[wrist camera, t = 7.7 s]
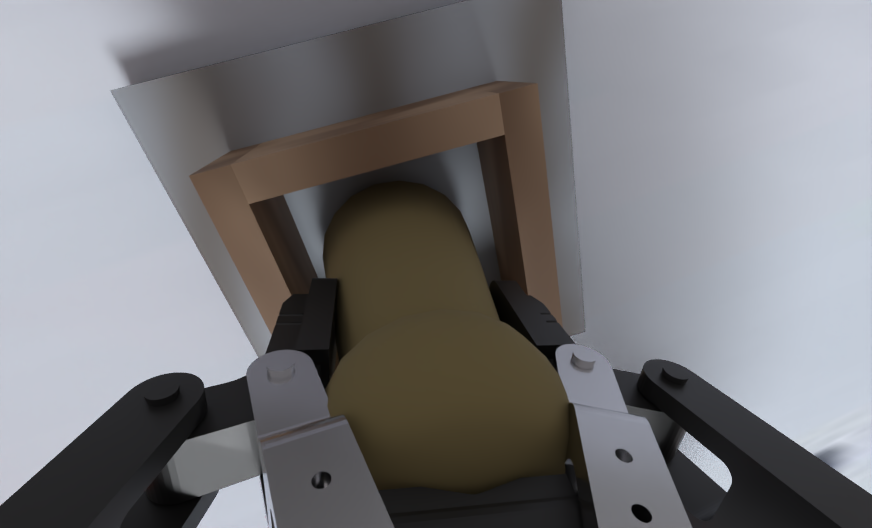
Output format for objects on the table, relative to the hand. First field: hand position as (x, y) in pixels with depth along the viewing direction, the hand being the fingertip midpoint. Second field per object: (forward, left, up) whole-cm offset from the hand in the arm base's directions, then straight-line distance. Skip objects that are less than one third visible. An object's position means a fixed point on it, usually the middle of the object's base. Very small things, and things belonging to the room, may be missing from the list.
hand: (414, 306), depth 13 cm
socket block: (0, 0, -7) cm, 7 cm away
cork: (0, 0, -4) cm, 4 cm away
